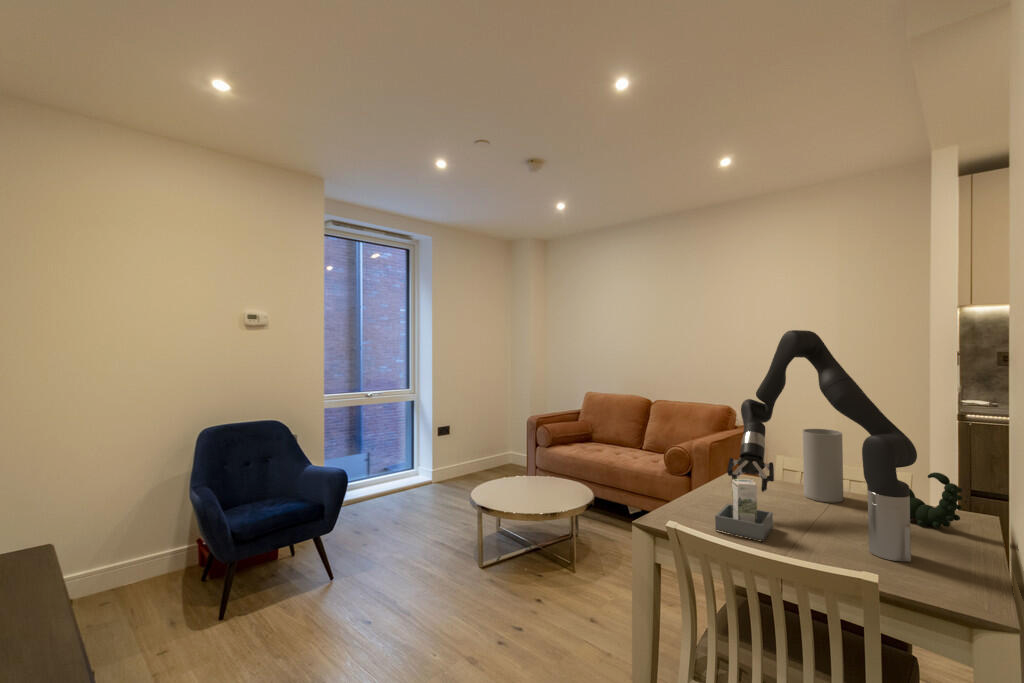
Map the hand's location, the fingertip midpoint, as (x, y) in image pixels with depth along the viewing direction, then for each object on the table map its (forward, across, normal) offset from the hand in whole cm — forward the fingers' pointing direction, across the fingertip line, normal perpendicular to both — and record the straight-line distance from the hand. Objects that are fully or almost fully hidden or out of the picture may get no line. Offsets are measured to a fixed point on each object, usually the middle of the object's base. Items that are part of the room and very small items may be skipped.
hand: (748, 488), depth 160 cm
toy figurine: (-10, +45, +25) cm, 53 cm away
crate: (+15, 0, 0) cm, 15 cm away
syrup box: (+14, 0, -1) cm, 14 cm away
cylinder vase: (-19, +20, +34) cm, 44 cm away
